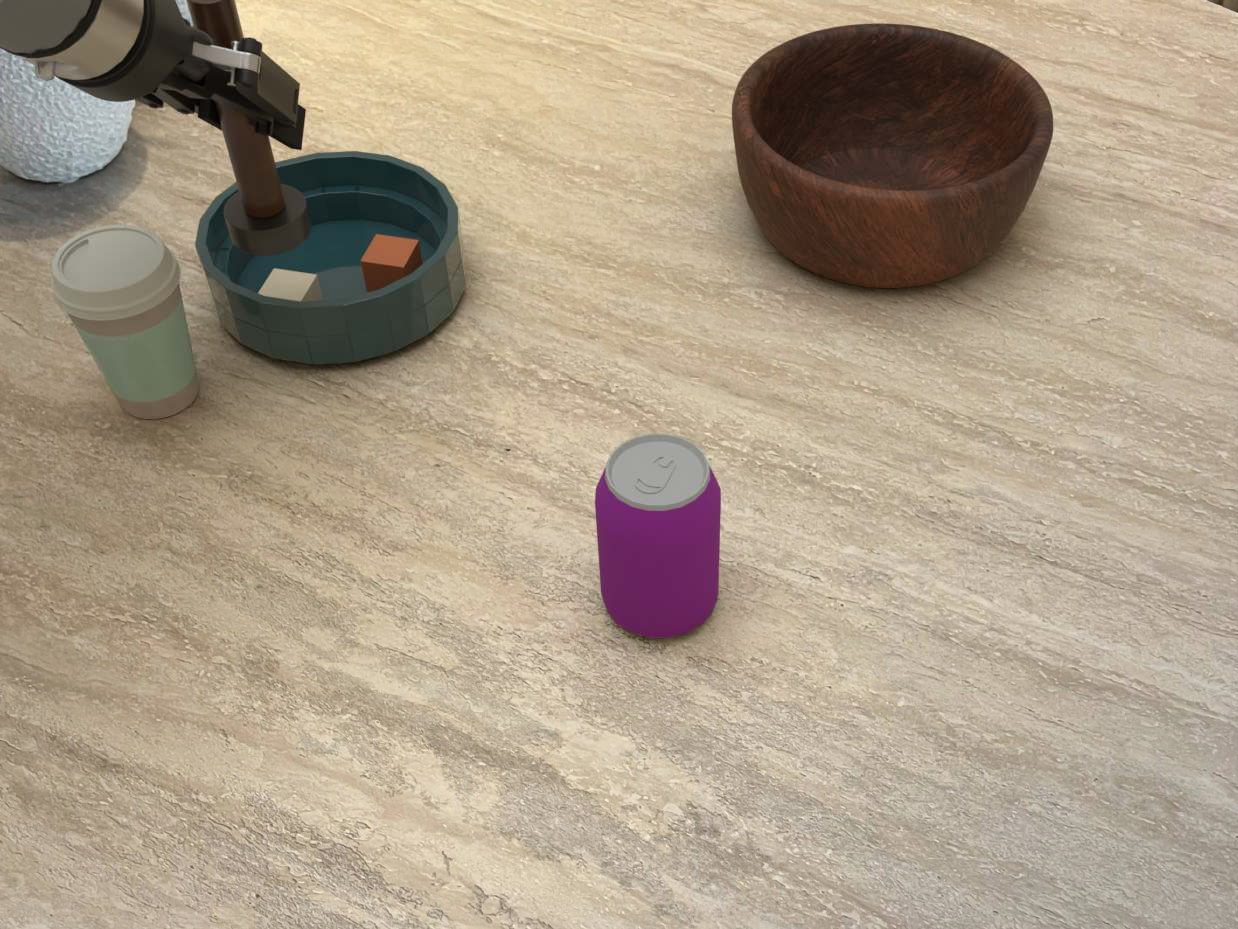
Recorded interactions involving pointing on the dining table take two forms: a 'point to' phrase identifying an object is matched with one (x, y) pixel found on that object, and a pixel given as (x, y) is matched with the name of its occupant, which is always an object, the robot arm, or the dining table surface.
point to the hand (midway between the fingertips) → (273, 125)
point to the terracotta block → (389, 260)
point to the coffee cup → (129, 316)
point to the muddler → (251, 160)
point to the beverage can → (658, 535)
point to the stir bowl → (341, 261)
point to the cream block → (292, 286)
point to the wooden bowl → (888, 151)
